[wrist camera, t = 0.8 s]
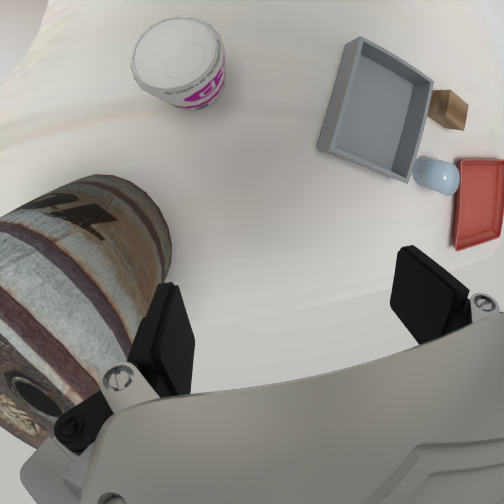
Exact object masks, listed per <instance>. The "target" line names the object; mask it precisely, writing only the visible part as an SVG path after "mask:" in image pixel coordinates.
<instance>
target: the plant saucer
mask: <svg viewBox="0 0 504 504" xmlns="http://www.w3.org/2000/svg"><path fill="white" fill-rule="evenodd" d="M457 168H458V171H459V175H460V182H459V186H458V188H457V194H456V211H455V222H454V231H453V241H454V248H455V251H460V250H463V249H466V248H469V247H473V246H476V245H479V244H482V243H485V242H488V241H491V240H494V239H497V238H499V237H500V235H501V229H502V222H503V215H504V160H502V159H462V160H461V161H460V162H459V164H458V167H457Z"/></svg>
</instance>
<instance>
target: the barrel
mask: <svg viewBox="0 0 504 504" xmlns="http://www.w3.org/2000/svg"><path fill="white" fill-rule="evenodd" d="M171 250H172V244H171V239H170V234H169V230H168V226H167V224H166V222H165V220H164V218H163V216H162V213H161V211H160V209H159V208H158V207H157V205H156V204H155V203H154V202H153V201H152V199H151V198H150V197H149V196H148V195H147V193H145V192H144V191H143V190H141V189H140V188H139V187H137V186H136V185H134V184H133V183H132V182H130V181H127V180H125V179H122V178H119V177H117V176H114V175H99V174H95V175H92V176H88V177H85V178H81V179H78V180H76V181H74V182H71V183H69V184H67V185H64V186H62V187H60V188H57V189H55V190H53V191H51V192H49V193H47V194H44V195H42V196H40V197H38V198H36V199H34V200H32V201H30V202H28V203H26V204H24V205H22V206H20V207H19V208H17V209H15V210H13V211H11V212H9V213H8V214H6V215H4V216H2V217H1V218H0V426H1V427H2V428H4V429H5V430H7V431H8V432H9V433H11V434H12V435H14V436H15V437H17V438H18V439H20V440H22V441H23V442H25V443H27V444H28V445H30V446H32V447H34V448H36V449H38V448H39V447H40V446H41V445H42V444H43V442H44V441H45V440H46V439H47V438H48V437H50V438H51V439H52V438H53V437H54V436H55V434H54V426H55V423H56V421H57V419H58V418H59V417H60V416H61V415H62V414H63V413H65V412H67V411H68V410H70V409H71V408H73V407H75V406H76V405H78V404H79V403H81V402H82V401H84V400H86V399H87V398H89V397H90V396H92V395H93V394H95V393H96V392H98V391H100V390H101V389H100V386H99V378H100V376H101V374H102V372H103V371H104V370H105V369H106V368H108V367H109V366H110V365H113V364H115V363H119V362H126V361H127V358H128V355H129V352H130V350H131V347H132V344H133V341H134V338H135V335H136V333H137V330H138V327H139V324H140V322H141V320H142V318H144V317H146V315H147V312H148V309H149V306H150V304H151V301H152V299H153V296H154V293H155V291H156V288H157V286H158V284H161V283H164V281H165V279H166V276H167V273H168V270H169V267H170V264H171Z"/></svg>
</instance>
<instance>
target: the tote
mask: <svg viewBox="0 0 504 504" xmlns="http://www.w3.org/2000/svg"><path fill="white" fill-rule="evenodd" d="M433 84H434V81H433V80H431V79H430V78H429V77H427V76H426V75H425V74H423V73H422V72H420V71H419V70H417V69H416V68H414V67H413V66H411V65H410V64H408V63H407V62H405V61H404V60H402V59H400V58H399V57H397V56H396V55H394V54H392V53H391V52H389V51H387V50H385V49H384V48H382V47H380V46H378V45H376V44H375V43H373V42H371V41H369V40H367V39H365V38H363V37H361V36H360V37H358V38H356V39H355V40H353V41H351V42H350V43H348V44H346V45H345V49H344V52H343V56H342V60H341V64H340V67H339V71H338V75H337V78H336V82H335V86H334V89H333V93H332V96H331V100H330V103H329V107H328V110H327V114H326V117H325V120H324V124H323V127H322V131H321V134H320V137H319V141H318V144H317V147H316V148H318V149H321V150H324V151H327V152H330V153H332V154H335V155H338V156H340V157H343V158H346V159H348V160H351V161H353V162H356V163H358V164H361V165H363V166H366V167H368V168H370V169H373V170H375V171H377V172H380V173H382V174H384V175H386V176H389V177H391V178H394V179H396V180H399V181H402V182H404V183H407V184H408V182H409V179H410V176H411V172H412V169H413V166H414V163H415V159H416V156H417V153H418V149H419V145H420V142H421V138H422V134H423V130H424V126H425V122H426V118H427V114H428V109H429V104H430V100H431V95H432V89H433Z"/></svg>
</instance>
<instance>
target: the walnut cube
mask: <svg viewBox="0 0 504 504" xmlns="http://www.w3.org/2000/svg"><path fill="white" fill-rule="evenodd" d="M467 111H468V104H466V103H465V102H464V101H463V100H462V99H461V98H460V97H459V96H457V95H456V94H455V93H454V92H453V91H451V90H434V91H432V95H431V100H430V104H429V109H428V114H427V116H429V117H430V118H432V119H433V120H435V121H436V122H437V123H439V124H440V125H442V126H443V127H444V128H449V129H456V130H463V131H464V127H465V122H466V117H467Z"/></svg>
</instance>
